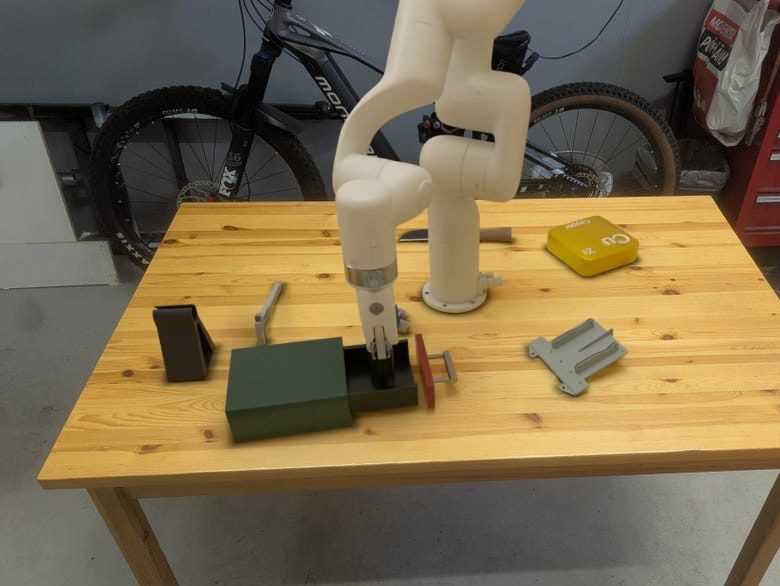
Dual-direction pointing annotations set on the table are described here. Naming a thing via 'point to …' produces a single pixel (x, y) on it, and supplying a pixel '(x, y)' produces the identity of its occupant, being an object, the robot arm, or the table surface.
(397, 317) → the ultrasonic sensor
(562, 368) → the metal bracket
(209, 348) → the phone stand
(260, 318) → the grey bent bar
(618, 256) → the element tile
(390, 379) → the tin
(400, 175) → the robot arm
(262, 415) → the cabinet
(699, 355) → the table surface
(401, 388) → the drawer
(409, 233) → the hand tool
